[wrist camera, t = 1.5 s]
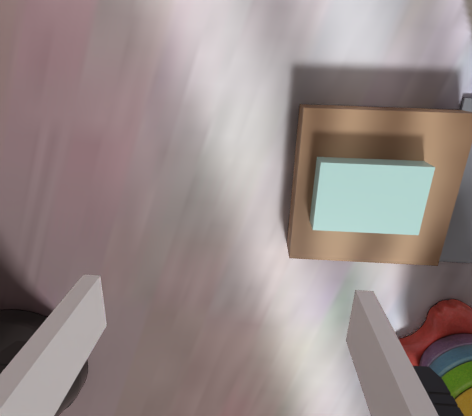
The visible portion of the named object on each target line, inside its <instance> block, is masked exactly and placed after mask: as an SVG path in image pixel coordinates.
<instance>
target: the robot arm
mask: <svg viewBox="0 0 472 416" xmlns="http://www.w3.org/2000/svg"><path fill="white" fill-rule="evenodd" d="M106 326H107V323H106V316H105V308H104V300H103V293H102V285H101V277H100V276H99V275H83V276H82V277H81V278H80V279H79V280H78V282H77V283H76V284H75V285H74V286H73V288H72V289H71V290H70V291H69V292H68V294H67V295H66V296H65V297H64V298H63V300H62V301H61V302H60V303H59V304H58V306H57V307H56V308H55V309H54V310H53V312H52V313H51V314H50V315H49V316H48V318H46V317H44V316H42V315H39V314H36V313H32V312H28V311H22V310H3V311H0V416H59V415H60V414H61V413H62V412H63V411H64V410H65V409H66V408H67V407H69V406H70V405H71V404H72V403H73V401H74V400H75V399H76V397H77V396H78V394H79V392H80V390H81V388H82V387H83V385H84V383H85V381H86V378H87V374H88V363H87V358H88V357H89V355H90V353H91V352H92V350H93V348H94V346H95V345H96V343H97V341H98V339H99V338H100V336H101V334H102V333H103V331H104V329H105V327H106ZM346 342H347V345H348V348H349V351H350V354H351V357H352V360H353V363H354V366H355V369H356V372H357V375H358V378H359V381H360V384H361V387H362V390H363V393H364V396H365V399H366V402H367V405H368V408H369V411H370V414H371V416H464V414H463V413H462V411H461V409H460V408H459V407H458V406H457V405H458V404H457V403H456V401H455V399H454V398H453V396H451V393H450V391H449V389H448V388H447V386H446V384H445V383H444V381H443V379H442V378H441V377H440V376H439V375H437V374H436V373H435V372H434V371H433V370H432V369H431V368H430V367H427V366H412V364H411V362H410V360H409V358H408V356H407V354H406V352H405V351H404V349H403V347H402V345H401V343H400V341H399V339H398V337H397V335H396V333H395V332H394V330H393V328H392V326H391V324H390V322H389V320H388V318H387V316H386V314H385V313H384V311H383V309H382V307H381V305H380V303H379V301H378V299H377V297H376V295H375V294H374V292H373V291H361V290H355V295H354V300H353V306H352V311H351V316H350V322H349V327H348V332H347V338H346Z"/></svg>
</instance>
